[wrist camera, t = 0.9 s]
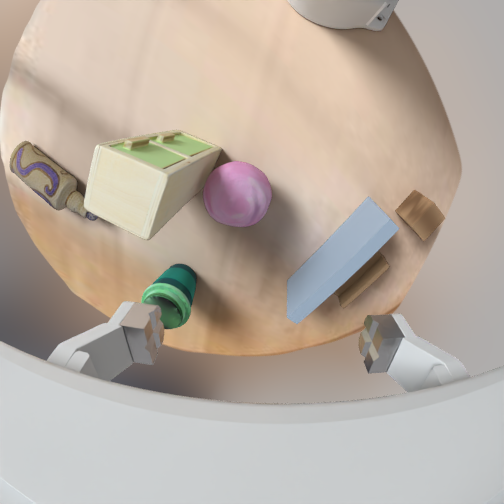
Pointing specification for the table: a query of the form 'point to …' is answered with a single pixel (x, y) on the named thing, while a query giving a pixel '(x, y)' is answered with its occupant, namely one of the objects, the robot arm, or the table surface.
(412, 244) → the table surface
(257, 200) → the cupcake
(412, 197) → the tan wooden cube
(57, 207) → the decorative bottle
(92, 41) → the table surface
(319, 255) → the wall board
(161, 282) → the cup
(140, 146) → the toy refrigerator
